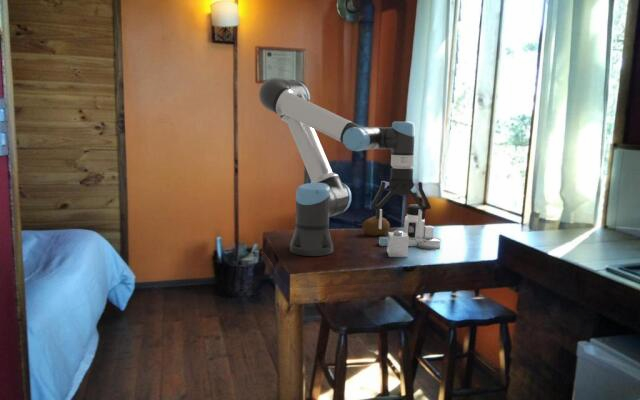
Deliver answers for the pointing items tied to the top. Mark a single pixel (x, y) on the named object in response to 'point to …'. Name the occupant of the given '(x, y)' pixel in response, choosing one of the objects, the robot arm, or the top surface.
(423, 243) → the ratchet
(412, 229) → the container
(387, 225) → the potato
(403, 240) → the cube with chrome knob
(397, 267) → the top surface
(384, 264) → the top surface
